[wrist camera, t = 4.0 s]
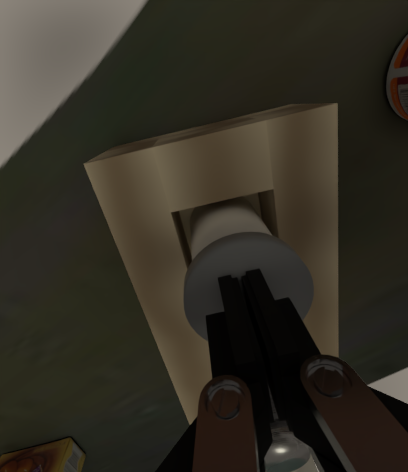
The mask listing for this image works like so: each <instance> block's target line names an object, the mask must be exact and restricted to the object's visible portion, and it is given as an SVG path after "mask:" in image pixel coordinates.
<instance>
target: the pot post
mask: <svg viewBox="0 0 408 472" xmlns="http://www.w3.org/2000/svg"><path fill="white" fill-rule="evenodd" d="M268 388H269V386H268ZM269 394H270V399H271V405H272V411H273V417H274V423H270V427H271V432H272V438H273V442H272V444H271V446H270V448H269V450H268V452H267V454H266V456H265V461H266V470H267V472H291V471H294V470H297V469H299V468H300V467H302V466H303V465H305V464H306V463H307V462H308V460H309V458H310V452H309V449H308V447H307V445H306V444H305V443H303V442H302V441H300V440H299V439H297V438H296V437H294V434H293V431H289V429H288V426H287V423H286V420H284V421H279V418H278V415H277V412H276V409H275V406H274V402H273V399H272V396H271V393H270V389H269Z"/></svg>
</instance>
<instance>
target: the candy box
mask: <svg viewBox="0 0 408 472" xmlns="http://www.w3.org/2000/svg"><path fill="white" fill-rule="evenodd" d="M85 456H86V455H85V453H84V452H83V451H82V450H81V449H80V448H79V446H78V445H77V444H76V443H75V442H74V441H73V440H72V439H71V438H70V437H69V438H66V439H62V440H59V441H56V442H52V443H48V444H44V445H40V446H36V447H32V448H28V449H24V450H20V451H16V452H12V453H8V454H3V455H2V456H1V457H0V472H81V470H82V466H83V463H84V460H85Z"/></svg>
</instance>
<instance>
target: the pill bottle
mask: <svg viewBox="0 0 408 472" xmlns="http://www.w3.org/2000/svg"><path fill="white" fill-rule="evenodd" d="M386 92H387V97H388V100H389V103H390V105H391V107H392V108H393V110H394V111H395V112H396V113H397V114H398V115H399V116H400V117H401V118H403V119H405V120H407V121H408V34H407V36H406V37H405V38H404V39H403V41H402V42H401V44H400V45H399V47H398V48H397V50H396V52H395V54H394V56H393V58H392V60H391V63H390V66H389V70H388V74H387V81H386Z"/></svg>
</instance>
